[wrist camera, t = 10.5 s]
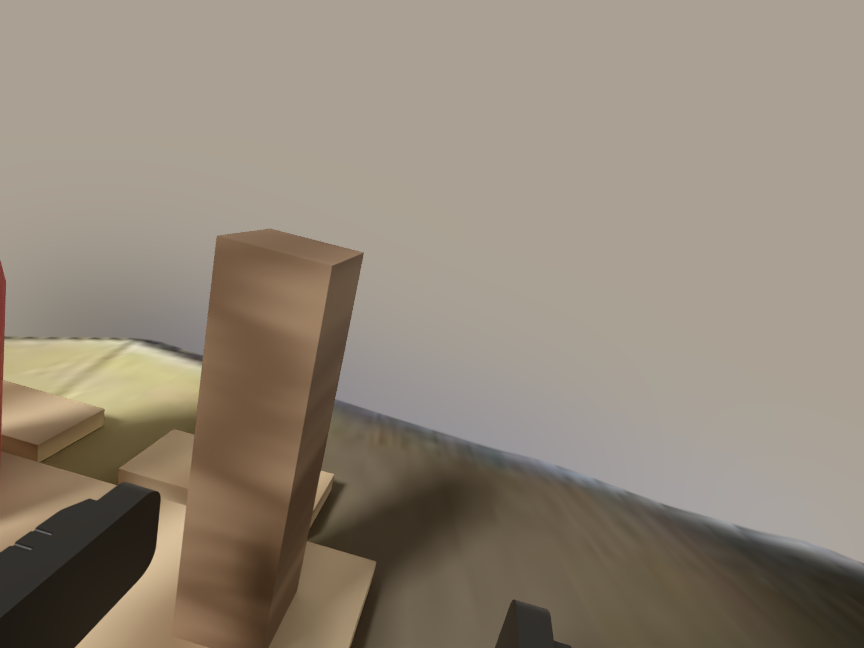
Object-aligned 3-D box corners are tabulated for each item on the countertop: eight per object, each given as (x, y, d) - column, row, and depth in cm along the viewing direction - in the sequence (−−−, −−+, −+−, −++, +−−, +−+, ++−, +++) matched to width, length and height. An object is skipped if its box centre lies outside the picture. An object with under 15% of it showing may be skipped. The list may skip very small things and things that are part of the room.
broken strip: (330, 490, 26) (334, 474, 26) (302, 541, 22) (306, 523, 22) (-47, 382, 27) (-47, 365, 27) (-136, 412, 23) (-138, 393, 23)
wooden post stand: (372, 580, 21) (450, 262, 17) (300, 803, 13) (414, 314, 9) (-94, 442, 22) (-116, 118, 18) (-407, 572, 14) (-557, 60, 11)
